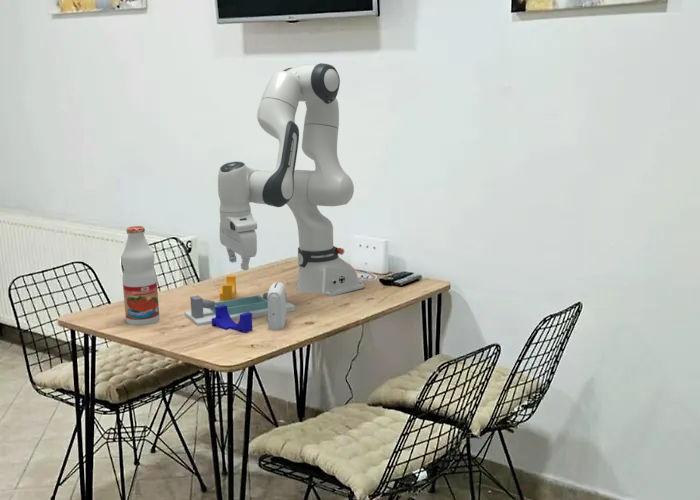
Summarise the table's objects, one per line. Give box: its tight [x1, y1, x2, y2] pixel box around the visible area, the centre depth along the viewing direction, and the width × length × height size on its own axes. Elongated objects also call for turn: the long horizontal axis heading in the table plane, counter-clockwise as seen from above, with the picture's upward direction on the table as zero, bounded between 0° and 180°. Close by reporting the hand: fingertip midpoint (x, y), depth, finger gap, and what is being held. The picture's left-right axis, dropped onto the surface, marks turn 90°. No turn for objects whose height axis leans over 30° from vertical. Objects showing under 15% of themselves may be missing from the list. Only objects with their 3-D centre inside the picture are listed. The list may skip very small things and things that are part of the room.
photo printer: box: [267, 281, 287, 331], centre depth 235 cm, size 10×4×12 cm, turn 177°
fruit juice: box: [120, 225, 160, 326], centre depth 238 cm, size 9×9×28 cm
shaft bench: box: [183, 292, 296, 327], centre depth 247 cm, size 30×12×7 cm, turn 119°
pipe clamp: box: [219, 274, 237, 302], centre depth 261 cm, size 12×4×6 cm, turn 1°
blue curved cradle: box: [211, 305, 254, 334], centre depth 233 cm, size 12×4×6 cm, turn 48°
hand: (238, 265), depth 245 cm, fingers open, 8 cm apart
